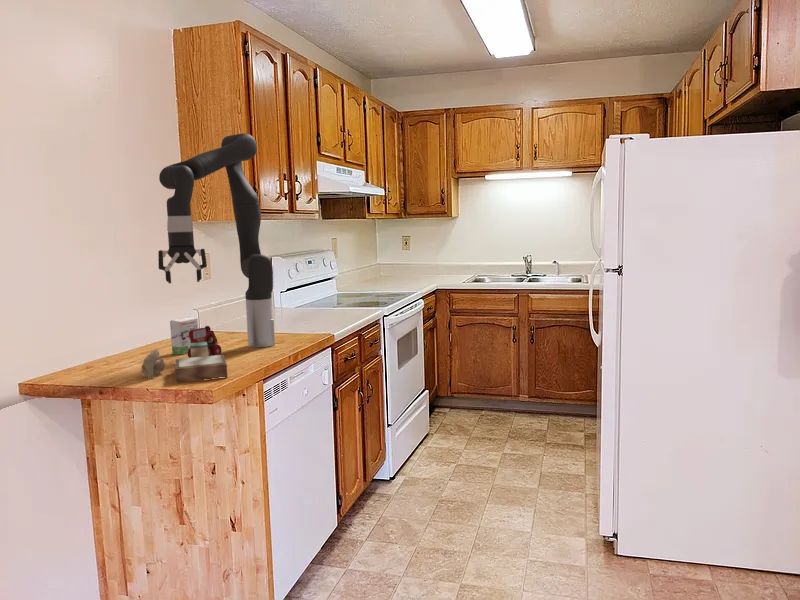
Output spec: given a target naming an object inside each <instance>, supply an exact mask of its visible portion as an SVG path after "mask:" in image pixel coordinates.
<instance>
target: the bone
mask: <svg viewBox="0 0 800 600" xmlns="http://www.w3.org/2000/svg"><path fill="white" fill-rule="evenodd" d="M159 356H160V351H159V350H158V348H155V349H154V350H151V352H150V353H149V354H147V355H146V357H145V358H144V360H143V362H142V364H141V371H140V372H141V374H142V376H143V377H144V378H145V377H147V378H148V380H153V379H154V376H160V375H163V373H162V372H163V370H164V368H166V367H165V366H166V363H165V359H164V358H163V357H160V359H159V360H158V358H159Z"/></svg>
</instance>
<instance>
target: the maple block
mask: <svg viewBox="0 0 800 600" xmlns="http://www.w3.org/2000/svg"><path fill="white" fill-rule="evenodd" d="M190 349H191V358H193V357H204V356H208V345H207V342H200V343H190Z"/></svg>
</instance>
